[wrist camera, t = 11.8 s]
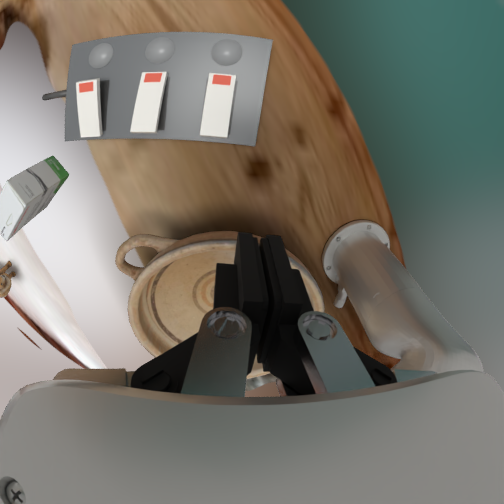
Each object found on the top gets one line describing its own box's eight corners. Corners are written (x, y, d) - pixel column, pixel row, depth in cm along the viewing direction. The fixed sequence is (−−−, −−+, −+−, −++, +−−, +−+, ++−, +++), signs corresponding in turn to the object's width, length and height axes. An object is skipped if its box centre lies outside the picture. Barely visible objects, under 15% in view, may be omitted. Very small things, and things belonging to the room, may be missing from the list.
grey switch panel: (253, 142, 34) (255, 146, 31) (43, 140, 29) (32, 144, 27) (269, 44, 27) (272, 39, 24) (49, 55, 22) (37, 54, 19)
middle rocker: (156, 133, 27) (154, 131, 26) (132, 133, 26) (129, 131, 26) (167, 74, 25) (166, 71, 24) (143, 74, 25) (142, 72, 24)
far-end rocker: (227, 138, 28) (227, 137, 27) (200, 135, 28) (199, 134, 27) (235, 77, 26) (236, 74, 25) (209, 75, 26) (209, 72, 25)
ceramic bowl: (350, 294, 49) (369, 331, 41) (243, 364, 58) (246, 401, 50) (200, 147, 34) (189, 164, 25) (98, 273, 43) (76, 311, 34)
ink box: (53, 153, 31) (5, 178, 21) (71, 175, 33) (26, 206, 23) (30, 188, 33) (-13, 219, 23) (46, 208, 35) (6, 244, 25)
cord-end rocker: (102, 133, 28) (99, 136, 27) (83, 135, 27) (80, 137, 27) (99, 78, 22) (96, 79, 22) (79, 81, 22) (75, 82, 21)
